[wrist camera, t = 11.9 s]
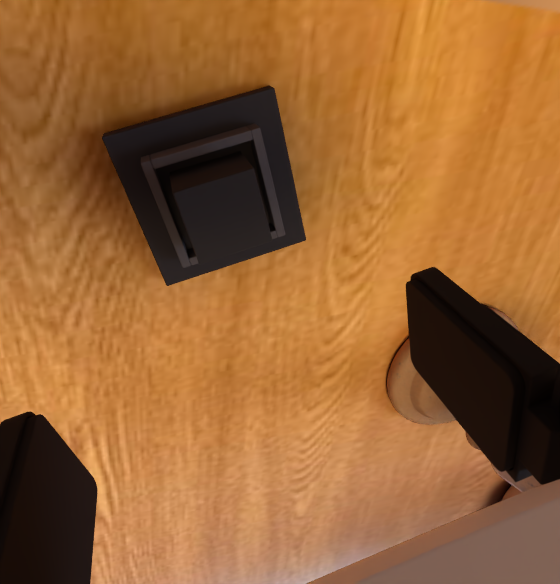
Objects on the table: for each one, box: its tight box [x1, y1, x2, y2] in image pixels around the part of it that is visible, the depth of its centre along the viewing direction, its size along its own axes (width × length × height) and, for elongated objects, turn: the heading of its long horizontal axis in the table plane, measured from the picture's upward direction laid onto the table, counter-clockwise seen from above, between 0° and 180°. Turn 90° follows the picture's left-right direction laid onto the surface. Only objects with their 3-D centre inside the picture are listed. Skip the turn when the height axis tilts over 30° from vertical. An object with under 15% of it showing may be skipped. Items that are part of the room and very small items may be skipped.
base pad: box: [102, 86, 306, 286], centre depth 24 cm, size 9×9×2 cm
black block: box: [169, 151, 272, 264], centre depth 23 cm, size 4×4×4 cm
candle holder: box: [387, 307, 542, 493], centre depth 30 cm, size 12×12×20 cm
